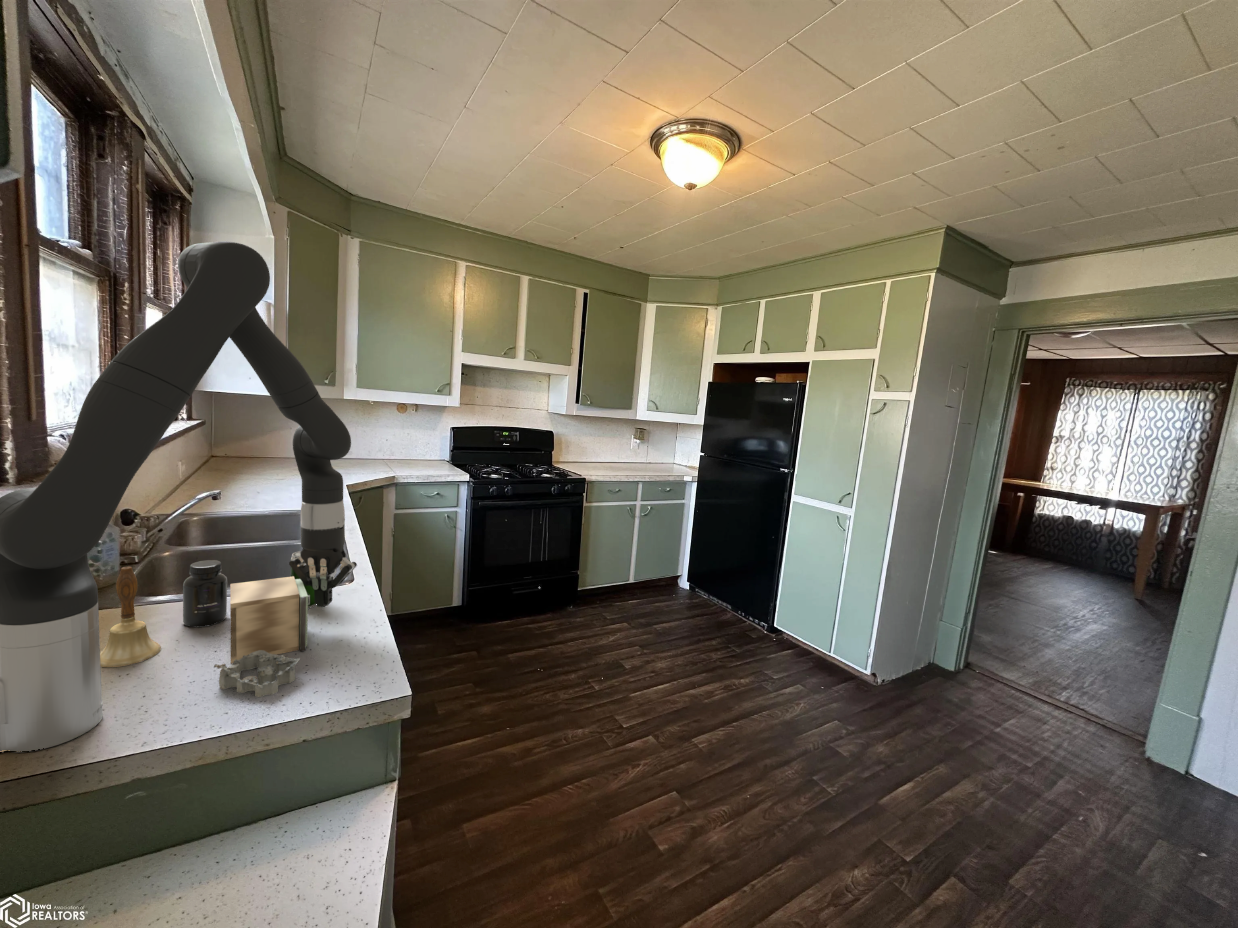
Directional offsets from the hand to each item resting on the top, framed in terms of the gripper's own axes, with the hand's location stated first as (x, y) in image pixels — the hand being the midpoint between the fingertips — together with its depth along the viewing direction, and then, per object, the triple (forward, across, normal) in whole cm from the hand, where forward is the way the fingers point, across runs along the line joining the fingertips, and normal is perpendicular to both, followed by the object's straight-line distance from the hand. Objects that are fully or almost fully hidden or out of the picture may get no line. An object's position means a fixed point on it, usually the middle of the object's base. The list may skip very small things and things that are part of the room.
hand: (323, 605), depth 100 cm
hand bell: (+5, -25, -15) cm, 30 cm away
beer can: (+5, -11, +10) cm, 15 cm away
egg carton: (+6, +1, -19) cm, 19 cm away
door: (+5, -2, -4) cm, 6 cm away
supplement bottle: (+5, -24, -1) cm, 24 cm away
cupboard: (+5, -6, -8) cm, 11 cm away
